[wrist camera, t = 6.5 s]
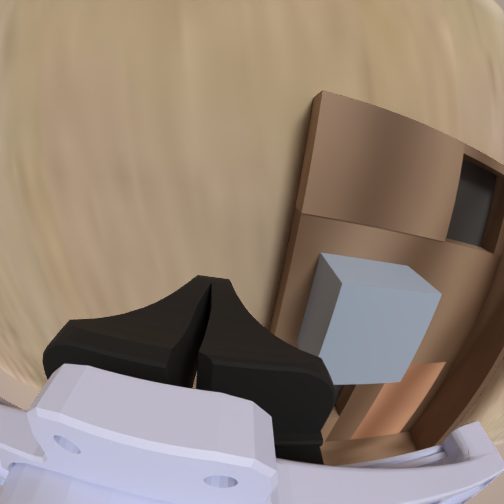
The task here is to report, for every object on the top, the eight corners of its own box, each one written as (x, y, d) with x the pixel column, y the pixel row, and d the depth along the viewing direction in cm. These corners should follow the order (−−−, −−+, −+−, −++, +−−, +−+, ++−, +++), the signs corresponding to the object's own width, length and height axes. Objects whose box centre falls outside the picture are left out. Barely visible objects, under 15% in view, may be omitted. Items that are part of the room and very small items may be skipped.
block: (407, 265, 12) (442, 294, 9) (377, 344, 14) (400, 381, 11) (320, 252, 12) (342, 283, 9) (296, 340, 13) (308, 384, 10)
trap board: (510, 176, 12) (560, 189, 8) (405, 423, 19) (424, 461, 15) (313, 97, 11) (348, 71, 7) (244, 431, 18) (245, 483, 14)
